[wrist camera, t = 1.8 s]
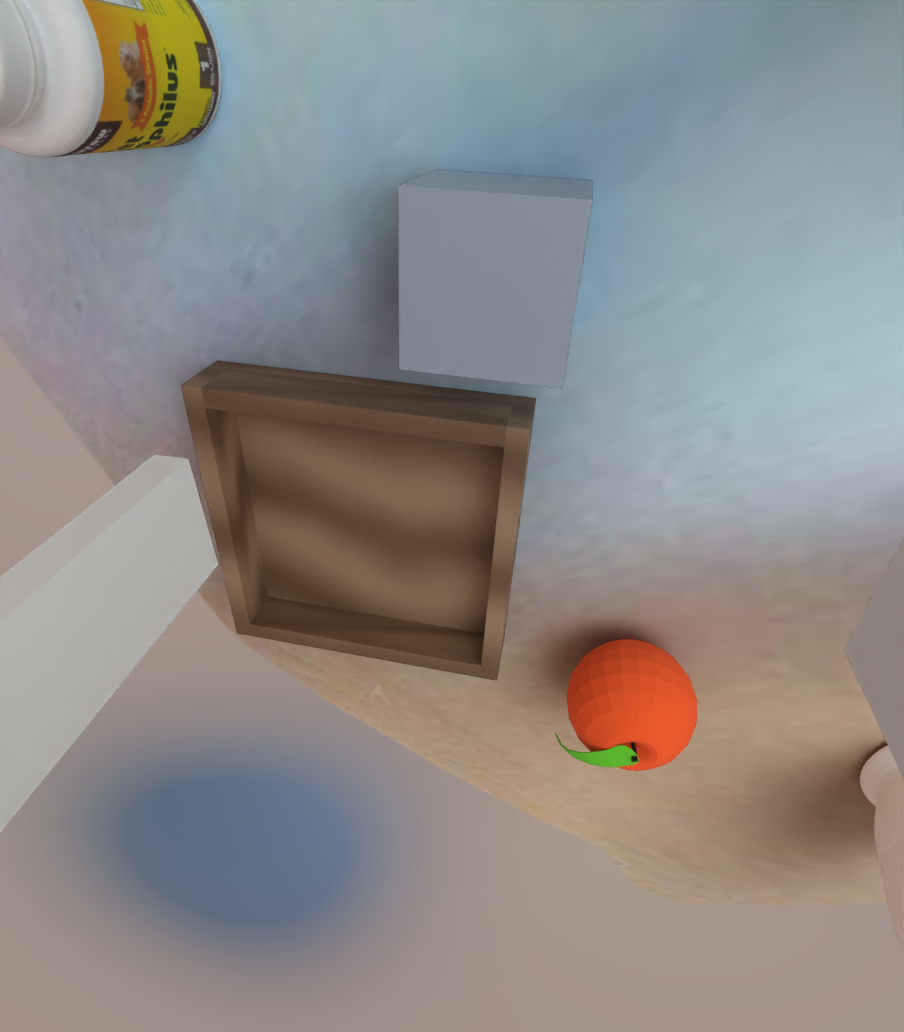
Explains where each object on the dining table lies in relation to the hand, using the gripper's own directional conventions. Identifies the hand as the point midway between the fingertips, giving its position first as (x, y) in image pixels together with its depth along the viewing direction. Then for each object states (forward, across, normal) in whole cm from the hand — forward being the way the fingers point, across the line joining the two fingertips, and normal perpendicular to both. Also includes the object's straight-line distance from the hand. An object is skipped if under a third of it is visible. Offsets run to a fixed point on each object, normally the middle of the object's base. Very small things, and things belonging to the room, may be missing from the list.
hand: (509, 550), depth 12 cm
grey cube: (+17, -2, +2) cm, 18 cm away
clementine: (+17, +6, -20) cm, 28 cm away
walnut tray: (+17, -9, -12) cm, 23 cm away
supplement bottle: (+17, -16, +8) cm, 25 cm away
